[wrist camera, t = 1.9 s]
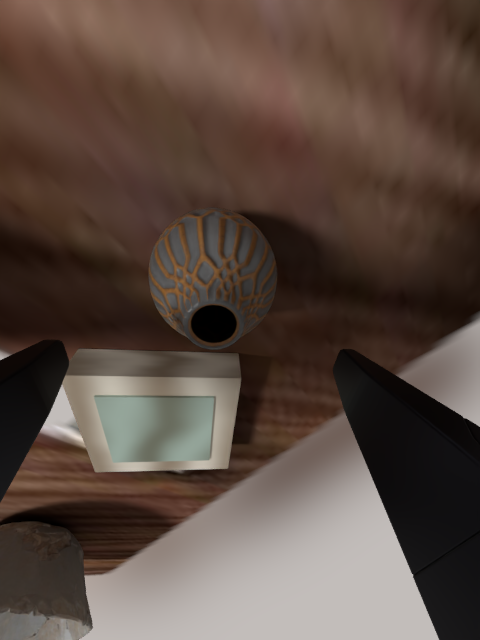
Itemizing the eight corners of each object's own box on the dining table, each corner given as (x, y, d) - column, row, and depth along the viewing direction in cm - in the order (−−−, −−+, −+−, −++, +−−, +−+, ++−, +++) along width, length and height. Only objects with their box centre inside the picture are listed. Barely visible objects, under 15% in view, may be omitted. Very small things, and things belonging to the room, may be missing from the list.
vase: (283, 262, 18) (331, 333, 10) (210, 316, 20) (206, 409, 12) (220, 173, 15) (225, 185, 7) (140, 248, 16) (78, 318, 9)
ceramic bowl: (-76, 546, 36) (-163, 662, 28) (-38, 475, 28) (-147, 609, 20) (79, 565, 45) (48, 657, 37) (143, 515, 37) (122, 619, 28)
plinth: (106, 443, 27) (94, 474, 24) (78, 348, 20) (57, 377, 18) (226, 441, 29) (227, 470, 26) (238, 353, 22) (241, 380, 19)
